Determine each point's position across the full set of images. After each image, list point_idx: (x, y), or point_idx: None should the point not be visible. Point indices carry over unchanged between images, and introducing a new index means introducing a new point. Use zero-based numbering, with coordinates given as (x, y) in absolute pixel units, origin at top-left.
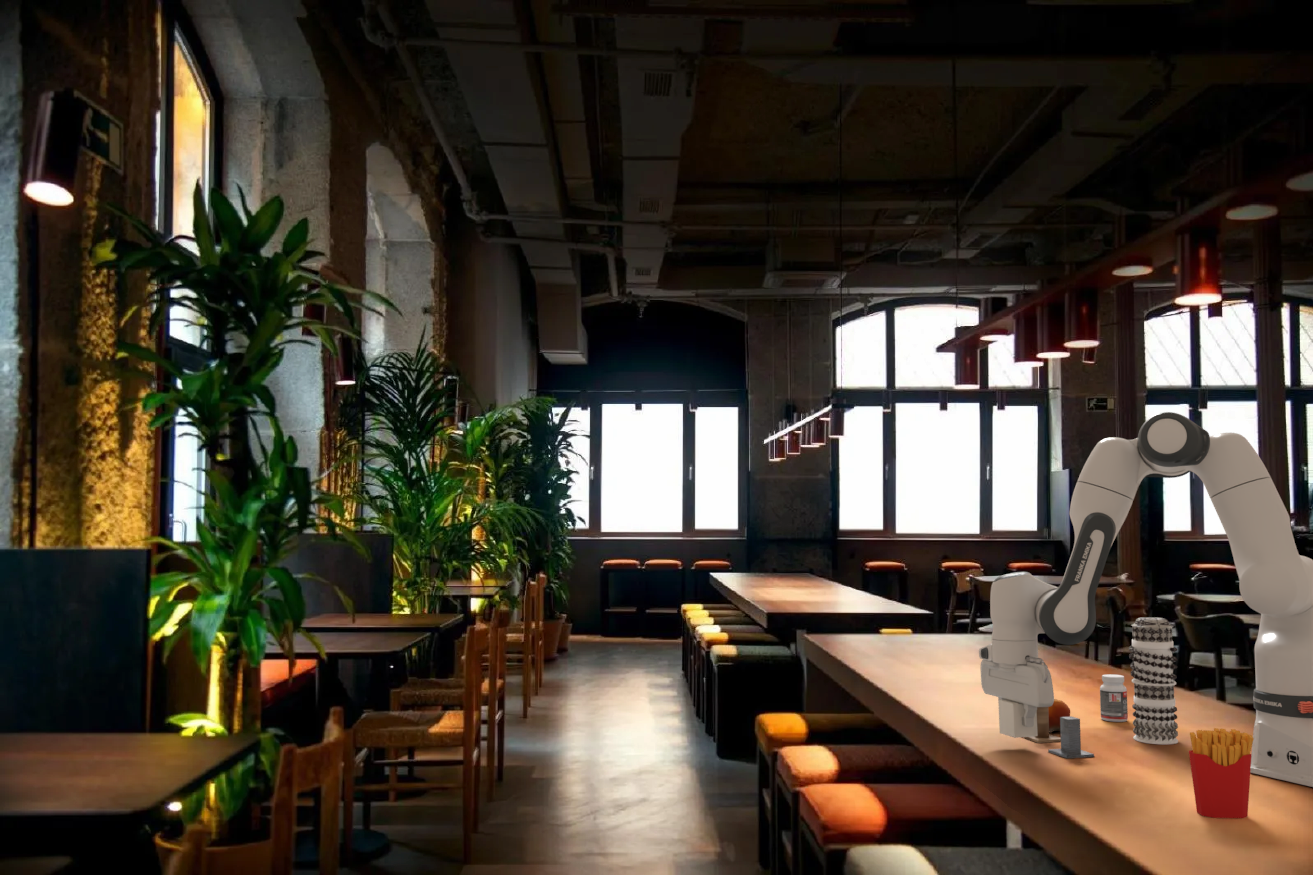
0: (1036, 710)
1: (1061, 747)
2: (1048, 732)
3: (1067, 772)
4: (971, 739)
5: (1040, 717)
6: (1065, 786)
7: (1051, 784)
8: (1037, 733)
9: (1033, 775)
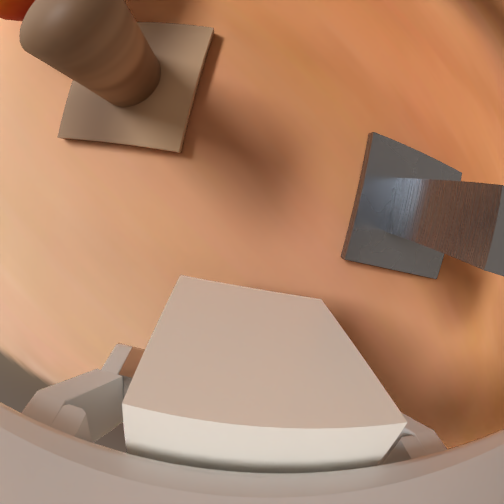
0: (426, 428)
1: (394, 234)
2: (154, 54)
3: (476, 370)
4: (42, 342)
5: (112, 65)
6: (489, 416)
7: (473, 430)
8: (325, 305)
9: (438, 436)
